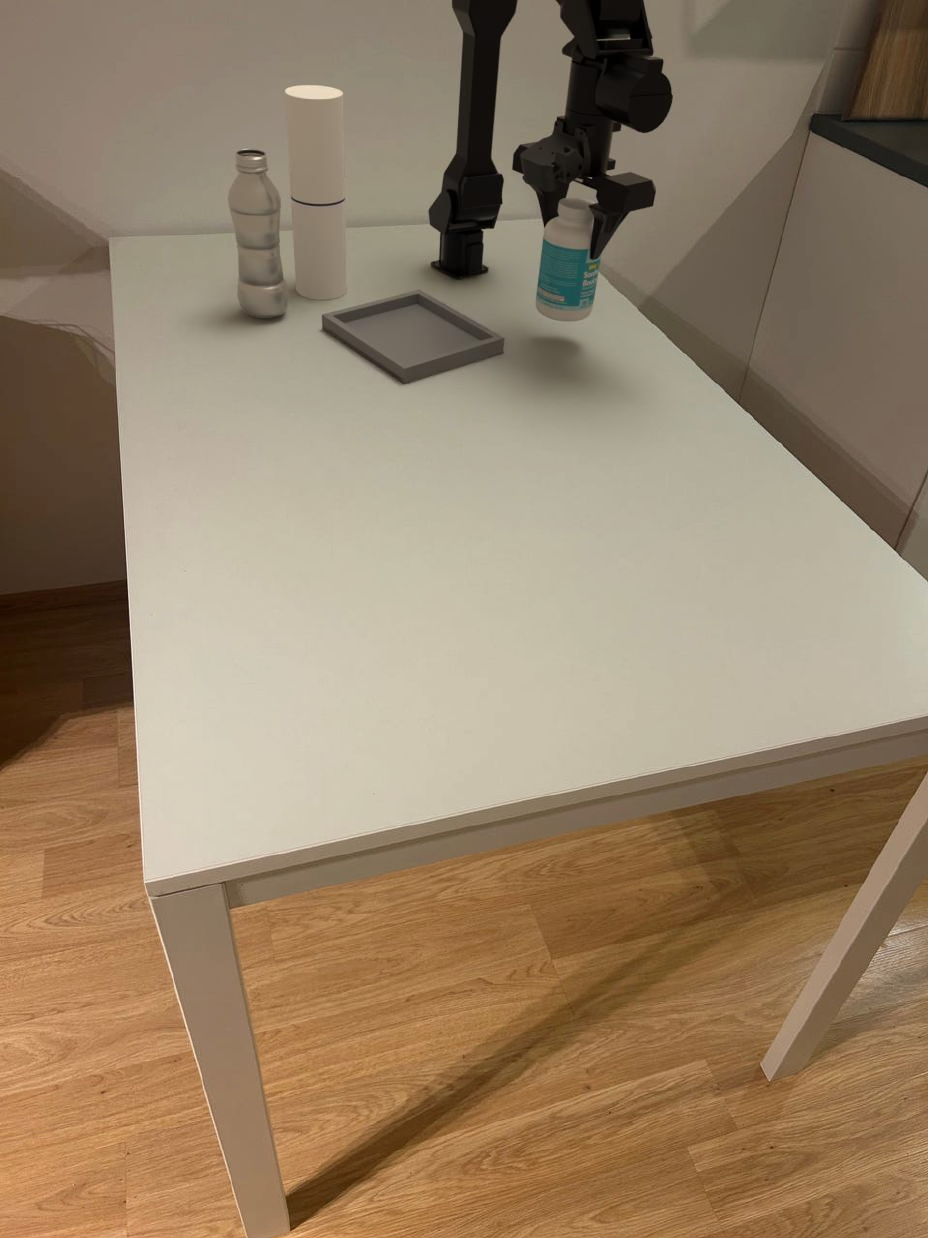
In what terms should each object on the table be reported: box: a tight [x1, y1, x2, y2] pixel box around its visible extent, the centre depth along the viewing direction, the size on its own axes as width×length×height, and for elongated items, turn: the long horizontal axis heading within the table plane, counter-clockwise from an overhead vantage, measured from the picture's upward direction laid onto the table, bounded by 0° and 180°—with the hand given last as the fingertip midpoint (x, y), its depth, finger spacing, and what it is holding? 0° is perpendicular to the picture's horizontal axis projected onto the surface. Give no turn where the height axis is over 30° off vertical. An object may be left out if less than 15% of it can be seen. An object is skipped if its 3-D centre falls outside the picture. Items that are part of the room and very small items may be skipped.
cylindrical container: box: [284, 84, 348, 301], centre depth 124 cm, size 7×7×25 cm
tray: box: [321, 289, 506, 385], centre depth 121 cm, size 18×16×2 cm
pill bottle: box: [535, 197, 602, 323], centre depth 116 cm, size 8×7×14 cm
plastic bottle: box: [227, 148, 289, 319], centre depth 118 cm, size 6×7×20 cm
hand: (571, 248), depth 115 cm, fingers closed on pill bottle, 7 cm apart
